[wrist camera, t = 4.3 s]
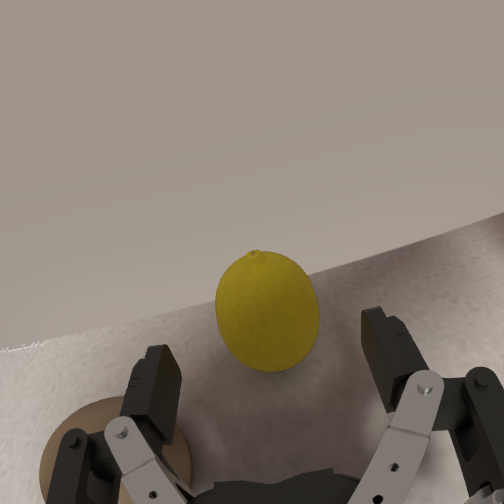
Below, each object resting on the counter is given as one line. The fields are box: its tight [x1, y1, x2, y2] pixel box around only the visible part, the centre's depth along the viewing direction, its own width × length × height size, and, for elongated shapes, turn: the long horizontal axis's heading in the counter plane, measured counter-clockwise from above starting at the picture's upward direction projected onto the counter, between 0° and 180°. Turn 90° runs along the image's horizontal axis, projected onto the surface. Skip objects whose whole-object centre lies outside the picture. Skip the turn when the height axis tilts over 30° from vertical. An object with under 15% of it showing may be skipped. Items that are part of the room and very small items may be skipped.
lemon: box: [215, 250, 319, 372], centre depth 17 cm, size 6×6×8 cm
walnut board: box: [39, 397, 192, 504], centre depth 13 cm, size 10×10×1 cm
